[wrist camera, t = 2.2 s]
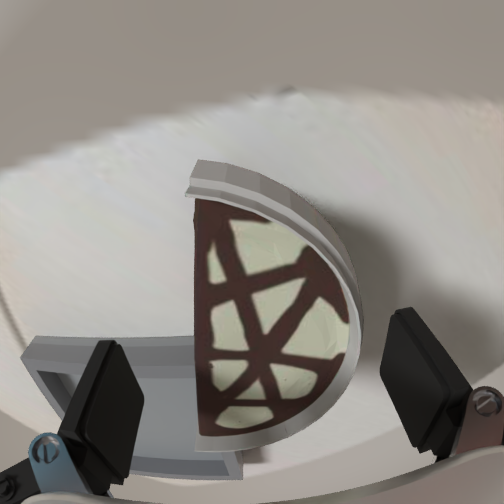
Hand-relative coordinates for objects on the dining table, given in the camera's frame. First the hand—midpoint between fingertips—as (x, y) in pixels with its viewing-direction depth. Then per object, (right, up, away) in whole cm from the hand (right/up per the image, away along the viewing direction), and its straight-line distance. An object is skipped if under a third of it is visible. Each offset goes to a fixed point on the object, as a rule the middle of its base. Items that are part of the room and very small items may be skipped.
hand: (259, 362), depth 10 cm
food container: (0, +4, +9) cm, 10 cm away
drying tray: (-10, -11, +15) cm, 21 cm away
